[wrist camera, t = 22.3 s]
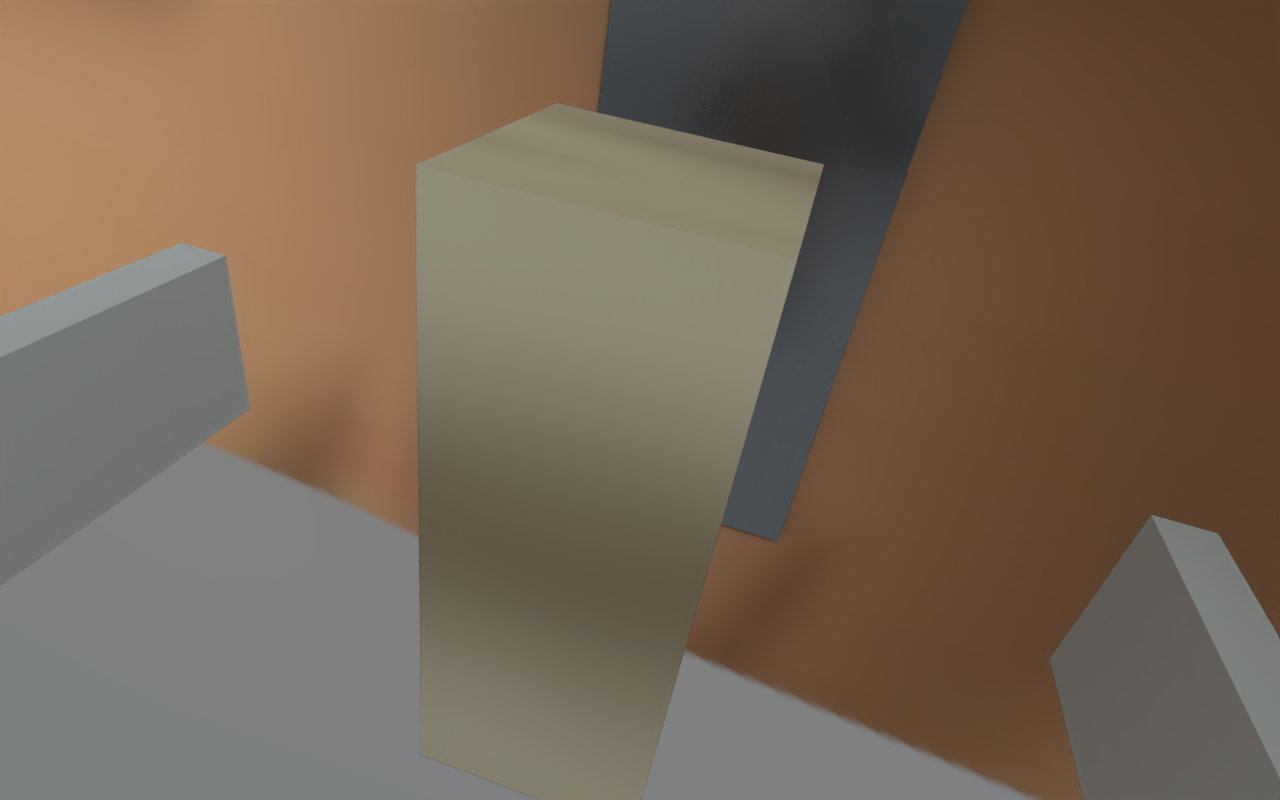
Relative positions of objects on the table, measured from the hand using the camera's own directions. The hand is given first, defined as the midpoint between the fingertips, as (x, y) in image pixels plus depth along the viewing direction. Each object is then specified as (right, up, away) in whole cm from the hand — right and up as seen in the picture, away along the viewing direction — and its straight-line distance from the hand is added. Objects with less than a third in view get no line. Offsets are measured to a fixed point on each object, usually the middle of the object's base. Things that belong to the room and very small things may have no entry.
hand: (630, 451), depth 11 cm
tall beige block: (+2, +4, +5) cm, 7 cm away
